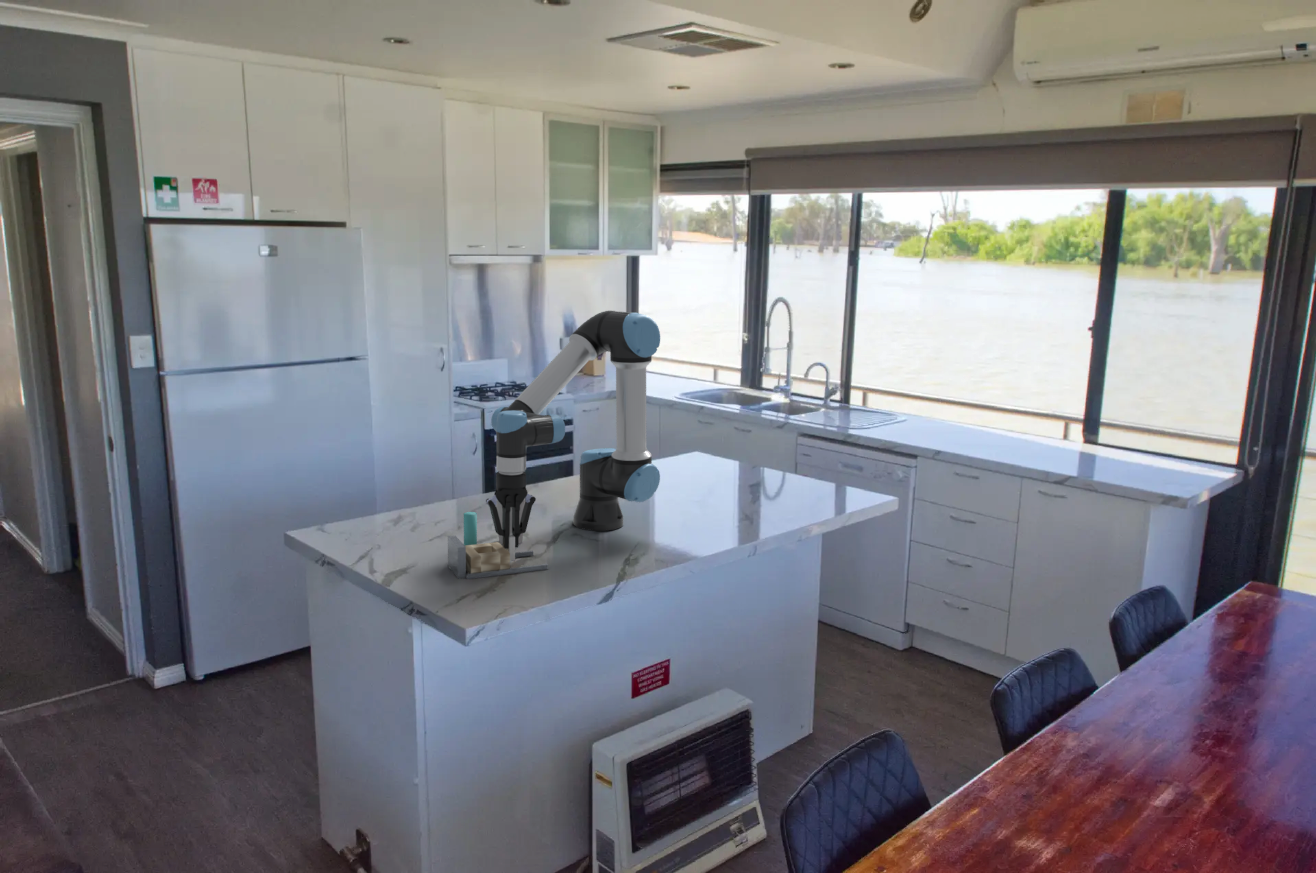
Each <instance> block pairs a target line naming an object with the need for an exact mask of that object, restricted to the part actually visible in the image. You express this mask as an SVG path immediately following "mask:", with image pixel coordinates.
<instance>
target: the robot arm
mask: <svg viewBox="0 0 1316 873" xmlns="http://www.w3.org/2000/svg"><path fill="white" fill-rule="evenodd" d="M660 344H661V331H660V327H659V326H658V324H657V322H656V321H655V320H654V319H653V318H652V317H651V316H650V315H647V314H643V313H639V312H633V311H632V312H630V311H629V312H628V311H616V310H605V311H601V312H599V313H597V314H594V315H593V316H591V317H590V318H589V319H587V320H586V321H585V322H583V323H582V324H581V325H580V326H578V328H577V329H575V330H574V331H573V333H571V335H570V336H569V338H568V342H567V344H566V345H565V346H564V347H563V349H561V350H560V352H558V354H557V355H556V356H555V357H554V358H553V359H552V360H551V361H550V363H548V364H547V366H545V367H544V369H543V370H542V371H541V372H540V373H538V375H537V376H536V378H534V379H533V380H532V382H531V383H529V384H528V386H526V388H525V389H523V391H522V392H521V393H520V394H519V395H518V396H517V397H516V399H514V401H513V402H512V403H510V404H509V406H500V407H497V409H495V410H494V411H493V413H492V415H491V417H490V418H491V426H492V428H493V430H494V431H495V433H496V435H495V436H496V465H495V466H496V471H497V472H496V474H495V476H496V477H495V478H496V479H495V480H496V481H495V482H496V483H495V486H496V487H495V492H494V495H493V496H491V497H490V498H486V499H485V503H486V504H487V505H488V507H489V510H490V514H491V515H490V516H491V517H492V518H491V519H492V522H493V526H494V530H495V534H497V535H498V536H499V535H500V536H503V545H502V546H503V547H504V548H505V549H506V550H507V551H508V552H509V553H510V563H511V562H515V561H516V558H515V552H516V548H519V545H520V544H518V543H519V536H520V534H522V533H523V534H525V533H526V532H527V527H528V524H529V519H530V516H531V511H532V508H533V505H534V504H535V502H536V500H537V498H536V496H533V495H532V494H529V493H528V490H527V487H526V486H527V473H526V470H527V448H529V447H535V446H543V445H552V444H555V443H559V442H561V441H562V440H563V439H564V437H565V434H566V424H565V421H564V419H563V418H562V417H561V416H560V415H559V414H550V413H548V414H546V415H545V414H544V415H542V414H541V413H542V412H543V411H544V410H545V409H546V407H548V406H549V405H550V403H551V402H552V401H553V400H554V399H555V398H556V397H557V396H558V395H559V393H560V392H562V391H563V389H564V388H565V387H566V386H567V385H568V384H569V383H570V382H571V381H572V380H573V378H574V377H575V376H576V375H577V374H578V373H579V372H580V371H581V369H582V368H583V367H585V365H586V364H587V363H588V362H589V361H595V359H596V358H598V357H599V355H601V354H603V353H606V352H608V353H610V356H609V357H610V358H609V359H610V360H609V361H610V363H611V364H612V365H614V367H615V402H616V403H615V405H616V406H615V410H616V413H615V414H616V416H615V417H616V419H615V420H616V422H615V424H616V425H615V426H616V448H612V447H611V448H609V447H608V448H605V447H603V448H593V449H588V450H584V451H583V452H582V453H581V454H580V460H579V461H580V462H579V500H578V503H577V505H576V509H575V510H574V513H573V518H572V520H573V521H572V522H573V525H574V527H576V528H578V529H582V530H586V531H592V532H593V531H594V532H595V531H596V532H597V531H599V532H603V531H612V530H614V531H615V530H618V529H620V528H622V527H623V526H624V515H623V512H622V509H621V505H620V501H619V499H622V500H626V501H627V502H631V503H632V502H635V503H644V502H647V501H648V500H649V499H651V498H652V497H653V496H654V494H655V493H656V492H657V490H658V488H659V486H660V482H661V474H660V473H661V472H660V469H658V467H657V466H656V465H654V464H653V463H652V459H653V458H652V456H653V455H652V453H651V452H650V451H649V450H648V448H647V367H648V366H649V365H650V363H652V358H653V357H652V356H653V355H655V354H656V353H657V351H658V348H659V347H660ZM524 499H525V501H526V502H525V504H524V508H523V512H522V516H521V520H520V525H519V511H520V505H521V503H522V502H523V500H524ZM497 500H498V501H499V502H500V504H501V505H502V527H501V523H500V519H499V515H498V511H497V508H496V505H497V502H496V501H497ZM510 507H512V534H510Z"/></svg>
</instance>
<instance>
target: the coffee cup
mask: <svg viewBox="0 0 1316 873" xmlns="http://www.w3.org/2000/svg"><path fill="white" fill-rule="evenodd" d="M496 502H497V505H496V508H497V511H498V515H499V519H500V523H501V527H502V505H501V504H500V502H499V501H498V500H497V501H496ZM525 502H526V501H525V499H524V500H523V502H522V503H521V505H520V511H519V525H520V520H521V516H522V512H523V508H524V504H525ZM510 534H512V507H510ZM523 540H524V533H522V534H520V536H519V543H518V544H519V545H521V544H522V543H523V542H524V541H523ZM498 542H499V543H500V544H501V545H502V546H503V536H500V535H498Z"/></svg>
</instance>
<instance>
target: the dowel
mask: <svg viewBox="0 0 1316 873" xmlns="http://www.w3.org/2000/svg"><path fill="white" fill-rule="evenodd" d="M477 521H478V514H477V512H474V511H467V512H464V513H463V544H464V546H466V545H475V544H478V541H477V540H478V535H477V533H478V532H477V531H478V530H477V529H478V522H477Z"/></svg>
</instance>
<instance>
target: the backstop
mask: <svg viewBox="0 0 1316 873" xmlns="http://www.w3.org/2000/svg"><path fill="white" fill-rule="evenodd" d="M533 556H534V550H526V551H518V552H516V551H515V559H517V558H524V557H525V558H526V557H533ZM447 566H448V568H449V569H450V570H451V572H452V573H453V574H454V576H455V577H456V578H457V579H466V580H471V579H479V578H487V577H494V576H505V575H512V574H520V573H528V572H535V571H545V570H548V569H549V564H548V563H542V564H533V565H526V566H518V567H516V566H515V567H510V568H508V569H500V570H492V571H483V572H475V573H468V572H467V571H466V547H465V546H464V542H462V541H461V540H460V539H459V538H458V536H456V535H450V536H449V535H448V536H447Z"/></svg>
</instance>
